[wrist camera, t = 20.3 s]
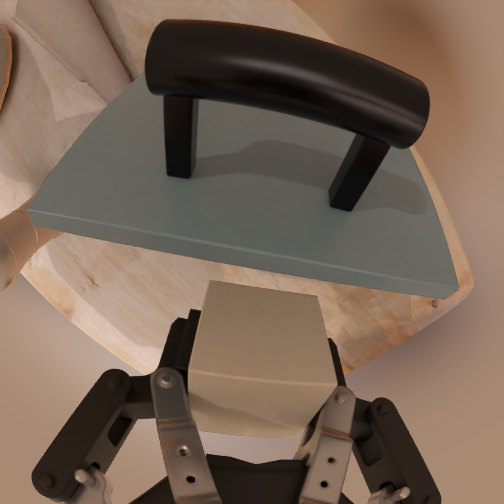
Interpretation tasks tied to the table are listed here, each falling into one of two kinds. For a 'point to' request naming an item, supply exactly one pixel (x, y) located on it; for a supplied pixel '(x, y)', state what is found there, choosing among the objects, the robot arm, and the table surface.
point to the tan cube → (259, 362)
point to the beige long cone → (75, 42)
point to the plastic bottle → (19, 242)
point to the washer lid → (260, 161)
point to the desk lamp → (4, 61)
